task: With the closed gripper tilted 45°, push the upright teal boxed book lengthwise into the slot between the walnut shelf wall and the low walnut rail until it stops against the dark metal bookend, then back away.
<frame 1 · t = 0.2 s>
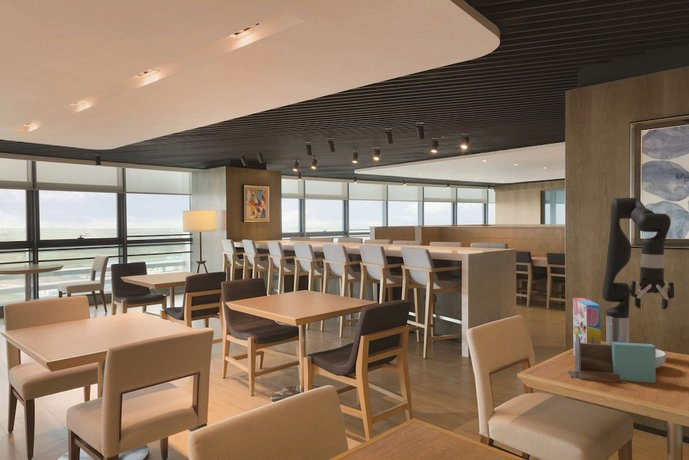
hand: (650, 308, 174), 29 cm above the table, tool pointing down, fingers open, 8 cm apart
book box: (633, 379, 181), on the table
shelf slot: (596, 376, 185), on the table
game box: (586, 362, 204), on the table
bookend: (578, 375, 187), on the table
cereal bowl: (641, 367, 196), on the table
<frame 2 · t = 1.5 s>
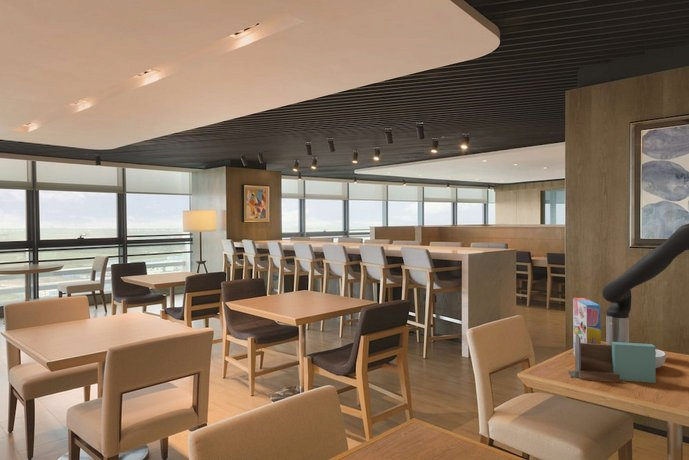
nothing on the table moved.
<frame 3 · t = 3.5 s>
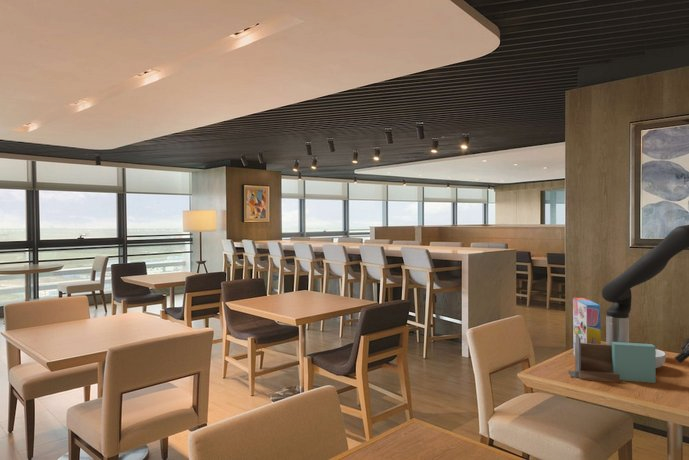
hand: (677, 360, 176), 9 cm above the table, tool tilted 45°, fingers closed
nothing on the table moved.
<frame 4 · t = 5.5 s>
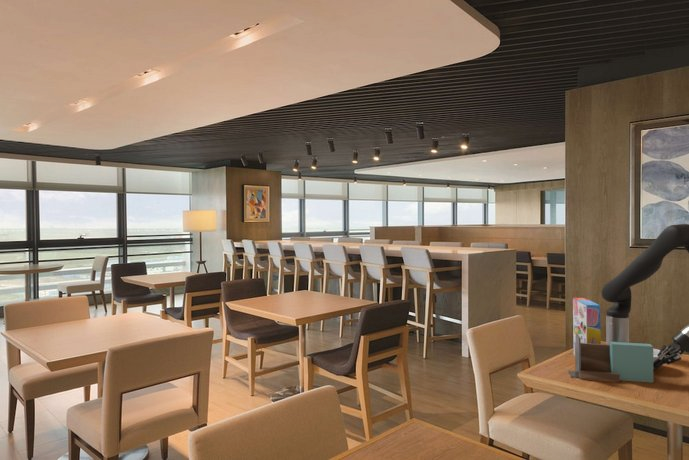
hand: (653, 367, 179), 5 cm above the table, tool tilted 45°, fingers closed
book box: (631, 379, 181), on the table, touching gripper
everything else where it was.
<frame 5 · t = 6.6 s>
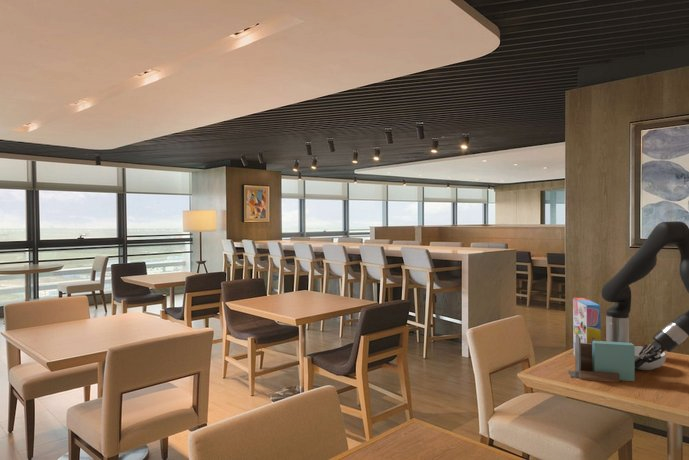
hand: (634, 366, 181), 5 cm above the table, tool tilted 45°, fingers closed
book box: (613, 377, 183), on the table, touching gripper
everything else where it was.
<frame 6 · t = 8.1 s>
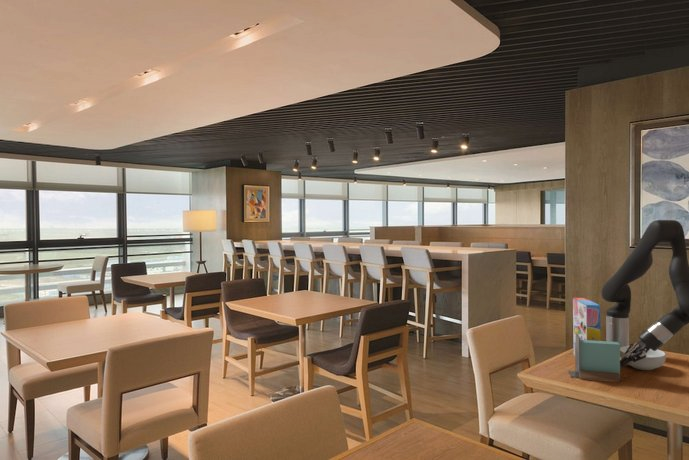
hand: (620, 365, 182), 5 cm above the table, tool tilted 45°, fingers closed
book box: (598, 376, 184), on the table, touching gripper
everything else where it was.
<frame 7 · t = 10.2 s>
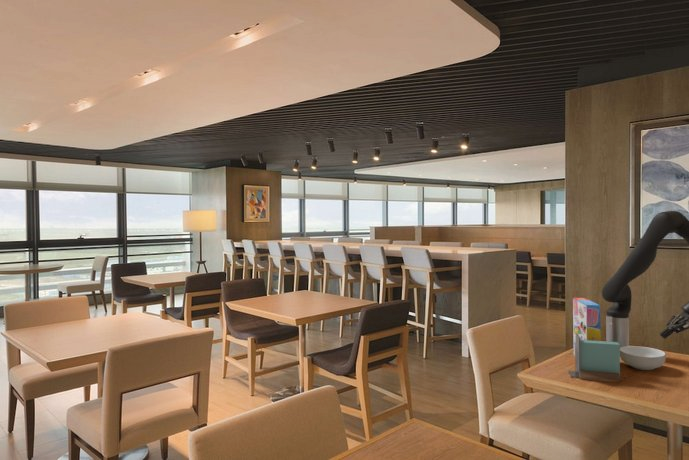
hand: (661, 336, 179), 17 cm above the table, tool tilted 45°, fingers closed
book box: (598, 376, 184), on the table
everything else where it was.
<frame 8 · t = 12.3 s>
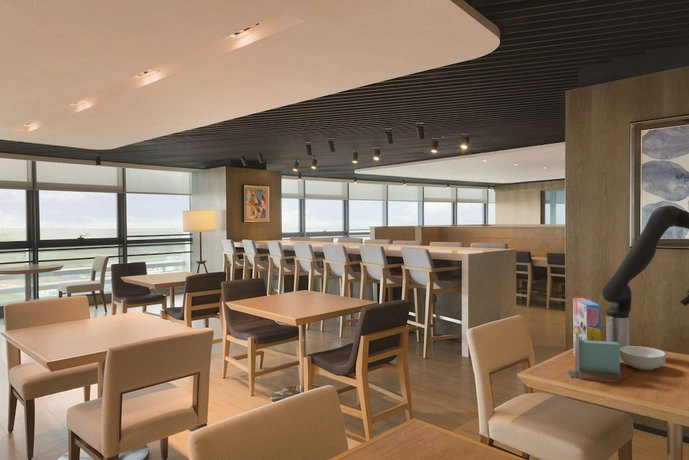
hand: (682, 304, 179), 30 cm above the table, tool tilted 45°, fingers closed
nothing on the table moved.
at the end: book box 0.1 cm from the target spot, on the table; book box tilted 0° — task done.
